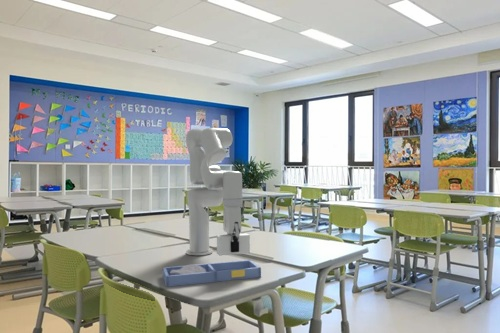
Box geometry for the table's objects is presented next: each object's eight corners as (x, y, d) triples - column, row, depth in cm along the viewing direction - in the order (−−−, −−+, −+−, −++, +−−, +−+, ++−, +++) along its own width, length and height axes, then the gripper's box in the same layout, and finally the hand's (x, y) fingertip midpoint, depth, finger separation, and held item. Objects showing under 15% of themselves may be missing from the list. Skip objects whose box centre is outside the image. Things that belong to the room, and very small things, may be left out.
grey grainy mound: (209, 281, 145) (191, 272, 151) (210, 269, 144) (192, 260, 151) (184, 290, 136) (167, 280, 142) (186, 277, 135) (168, 268, 142)
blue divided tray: (162, 276, 147) (162, 267, 147) (250, 268, 158) (250, 259, 158) (166, 287, 134) (166, 276, 134) (261, 277, 145) (261, 267, 145)
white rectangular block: (216, 253, 149) (216, 235, 149) (246, 251, 152) (246, 233, 152) (219, 255, 145) (219, 237, 145) (249, 253, 149) (249, 235, 149)
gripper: (218, 201, 156) (218, 247, 155) (228, 205, 140) (229, 256, 140) (236, 201, 158) (236, 246, 158) (248, 204, 142) (249, 254, 142)
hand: (233, 250), depth 149 cm, fingers closed on white rectangular block, 4 cm apart
